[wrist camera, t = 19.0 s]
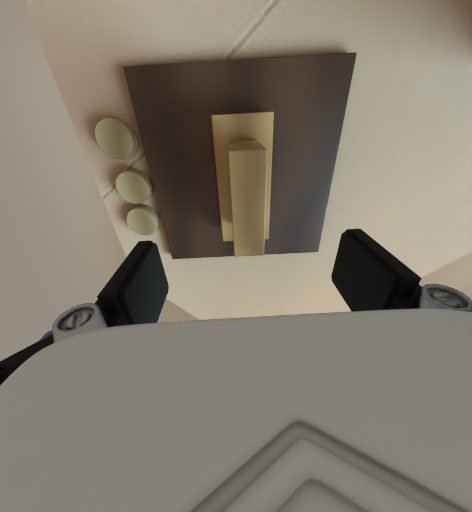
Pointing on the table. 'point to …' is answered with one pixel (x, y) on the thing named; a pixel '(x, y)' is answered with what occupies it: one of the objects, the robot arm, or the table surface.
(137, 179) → the disc
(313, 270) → the table surface
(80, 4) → the table surface
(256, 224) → the brush
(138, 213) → the token
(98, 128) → the token
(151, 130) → the tray
